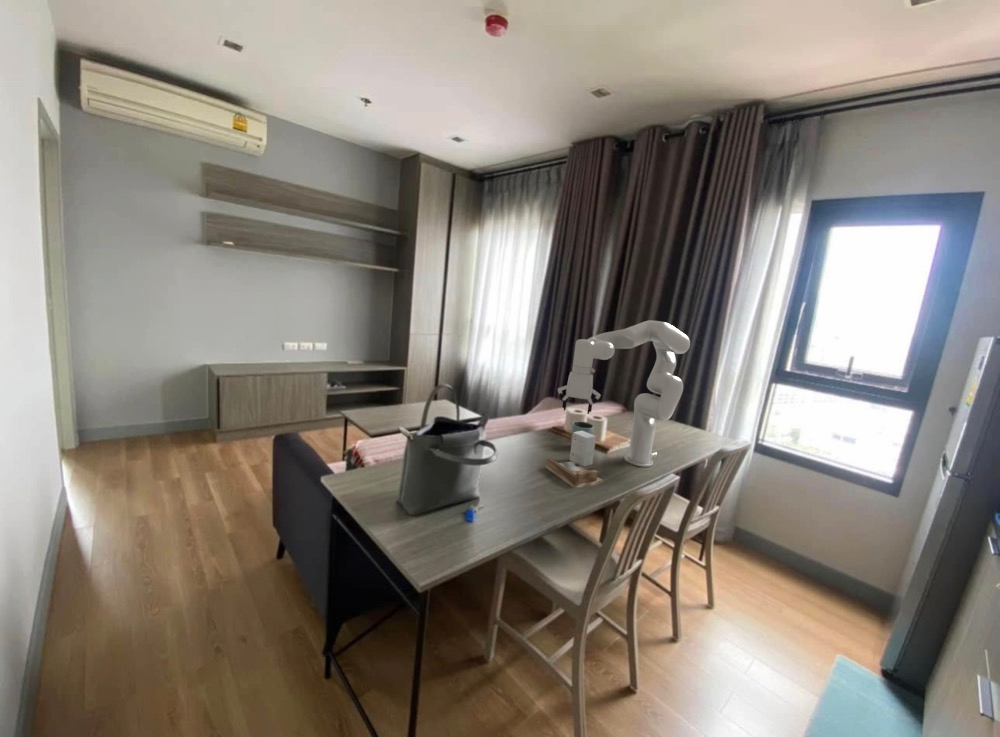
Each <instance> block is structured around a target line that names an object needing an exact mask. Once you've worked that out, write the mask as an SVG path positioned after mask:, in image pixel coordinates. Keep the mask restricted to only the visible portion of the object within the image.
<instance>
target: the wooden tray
mask: <svg viewBox="0 0 1000 737" xmlns="http://www.w3.org/2000/svg"><path fill="white" fill-rule="evenodd" d="M545 464H546V465H545V468H546V469H547V470H548V471H550V472H551V473H553V474H554V475H555V476H556V477H558V478H560V479H561V480H563V481H564V482H566V483H567V484H568V485H569V486H571V487H572V488H573V489H578V488H585V487H588V486H589V487H590V486H594V485H601V484H603V483H604V479H602V478H600V477H599V476H598V473H599V471H598V470H597V469H593V470H587V469H586V468H584V467H583V466H581V465H580V464H578V463H575V462H573V461H566V462H565V461H564V462H557V461H556V460H554V459H553V458H551V457H547V458H546V463H545Z"/></svg>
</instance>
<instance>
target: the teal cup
mask: <svg viewBox="0 0 1000 737" xmlns="http://www.w3.org/2000/svg"><path fill="white" fill-rule="evenodd" d="M571 427H572V429H571V438H570V446H571V445H572V437H573V432H577V431H584V432H587V433H589V434H592V435H593V432H594V428H595V425H594V424H593V423H590V422H587V421H581V420H577V421H573V422H572V424H571Z"/></svg>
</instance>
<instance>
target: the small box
mask: <svg viewBox="0 0 1000 737" xmlns="http://www.w3.org/2000/svg"><path fill="white" fill-rule="evenodd" d="M571 437H572V436H571ZM596 442H597V435H595V434H593V433H592V434H589V433H587V432H584V431H577V432H573V437H572V445H571V444H570V453H569V462H572V461H573V462H575V463H578V464H580V466H581V467H583V468H584V467H587V466H588V467H589V466H591V465H593V463H594V456H595V446H596Z"/></svg>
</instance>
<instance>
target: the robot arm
mask: <svg viewBox="0 0 1000 737" xmlns="http://www.w3.org/2000/svg"><path fill="white" fill-rule="evenodd" d="M648 342H652V344H653V347H654V349H655V353H656V359H655V363H654V366H653V368H652V370H651V372H650V374H649V377H648V378H647V382H646V388H647V389H648V390H649V391H650V392H652V393H655V394H658V395H660V397H659V396H657V395H654V394H651V393H646V392H645V393H639V394H638V395H637V396H636V397H635V399H634V402H633V403H634V404H633V412H634V414H633V424H632V431H631V438H630V443H629V448H628V449H629V450H628V453H626V454H625V455H624V457H623V458H624V461H626V462H627V463H629V464H630V465H634V466H636V467H643V468H644V467H645V468H647V467H652V466H654V460H653V458H655V457H658V452H655V451H654V452H652V450H653V445H654V439H655V434H656V426H657V425H656V424H657V422H656V421H659V422H666V421H668V420H670V418H671V417H672V416H673V414H674V412H675V410H676V408H677V405H678V403H679V401H680V399H681V397H682V395H683V391H684V383H683V380H682V379H681V378H680V377H678V376H676V375H673V374H674V371H675V369H676V367H677V359H676V358H677V356H676V355H682V354H685V353H687V352H688V351H689V349H690V346H691V340H690V338H689V336H688V335H687V334H685V333H684V332H682V331H681V330H679V328H676V327H675V326H674V325H671V324H670V323H668V322H665V321H659V320H653V319H652V320H650V319H649V320H646V321H642V322H639V323H638V324H635V325H631V326H628V327H626V328H622V329H617V330H614V331H613V330H612V331H608V332H603V333H599V334H596V335H594V336H590V337H589V338H587V339H583V338H582V339H580V338H579V339H577V340H576V341H575V346H574V354H573V355H574V356H573V361H572V362H573V363H572V371H570V372H569V375H568V379H567V384H566V385H564V386H560V387H558V388H557V392H558V395H559V397H560V398H561V399H562V408H563V411H566V409H567V402H568V400H567V399H568V398H575V399H580V400H587V401H588V408H587V412H586V413H587V415H589V414H590V413H591V412H592V410H593V408H592V407H593V405H594V404H595V403H597V401H598V400H599V399H600V398H601V395H602V394H600V393H599V392H598V391H597V390H595V389H594V388H593V383H594V376H593V374H592V373H596V369H595V368H593V364H594V363H593V362H594V359H597V360H603V361H605V360H609V359H611V358H612V357H613V356H614V355H615V351H616V350H615V349H620V350H621V349H622V350H625V349H633V348H637V347H638V346H641V345H643V344H645V343H648ZM675 354H676V355H675ZM564 390H565V395H564V393H563V391H564ZM592 394H593V395H594V396H595V397H594V398H593V399H592Z"/></svg>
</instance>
